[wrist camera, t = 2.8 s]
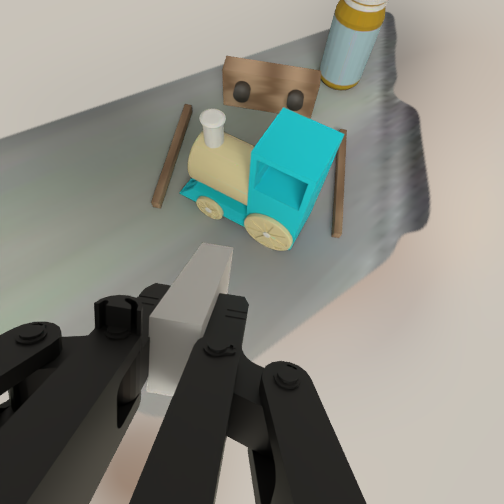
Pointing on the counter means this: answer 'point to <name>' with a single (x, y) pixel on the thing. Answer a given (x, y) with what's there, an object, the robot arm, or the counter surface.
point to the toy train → (262, 174)
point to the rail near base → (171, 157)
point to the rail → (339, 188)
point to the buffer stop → (269, 86)
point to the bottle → (351, 41)
